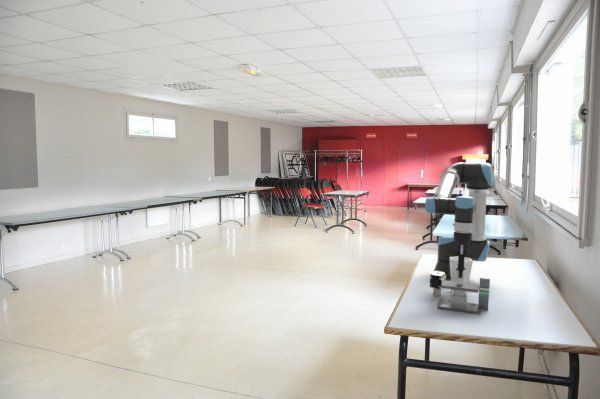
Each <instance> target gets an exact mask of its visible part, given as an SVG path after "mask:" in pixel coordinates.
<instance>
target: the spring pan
mask: <svg viewBox="0 0 600 399" xmlns="http://www.w3.org/2000/svg"><path fill="white" fill-rule="evenodd" d="M441 289H446V290H451V289H452V290H455V294H454V295H456V296H464V291H467V292H470V293H476V294H477V293H478V294H479V290H487V291H489V292H490V288H489V289H487V288H479V283H471V282H469V283H463V285H457V282H454V281H451V280H446V281H445V280H443V281H442V285H441Z"/></svg>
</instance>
